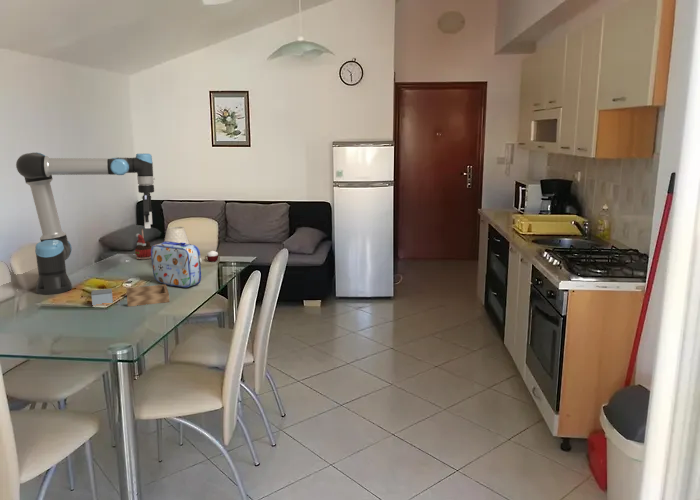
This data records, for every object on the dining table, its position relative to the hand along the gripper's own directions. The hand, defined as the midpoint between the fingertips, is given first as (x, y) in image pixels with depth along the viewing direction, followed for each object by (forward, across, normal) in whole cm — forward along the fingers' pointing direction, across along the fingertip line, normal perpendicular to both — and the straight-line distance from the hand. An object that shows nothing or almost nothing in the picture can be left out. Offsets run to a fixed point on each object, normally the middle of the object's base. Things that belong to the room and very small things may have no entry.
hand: (148, 226), depth 287 cm
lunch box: (+27, -20, -14) cm, 36 cm away
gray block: (+27, -45, +18) cm, 55 cm away
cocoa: (+26, +29, -32) cm, 51 cm away
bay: (+27, -43, 0) cm, 50 cm away
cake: (+27, +49, +7) cm, 56 cm away
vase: (+27, +14, -13) cm, 33 cm away
